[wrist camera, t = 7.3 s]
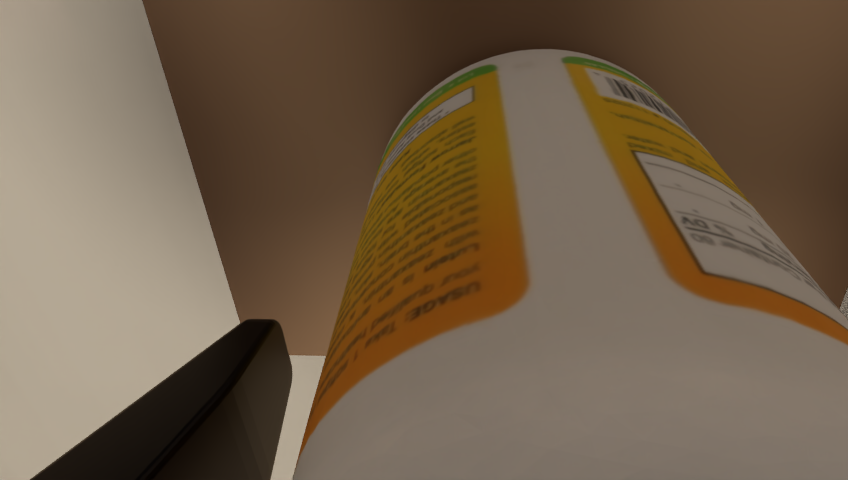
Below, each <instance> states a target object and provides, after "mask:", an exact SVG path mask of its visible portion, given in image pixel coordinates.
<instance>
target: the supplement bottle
mask: <svg viewBox="0 0 848 480" xmlns="http://www.w3.org/2000/svg"><path fill="white" fill-rule="evenodd" d="M293 480H848V319H847V318H846V317H845V316H844V315H843V313H842V312H841V311H840V310H839V309H838V308H837V306H836V305H835V304H834V303H833V302H832V301H831V300H830V299H829V297H828V296H827V295H826V294H825V293H824V291H823V290H822V289H821V288H820V287H819V285H818V284H817V283H816V282H815V281H814V279H813V278H812V277H811V276H810V274H809V273H808V272H807V271H806V270H805V268H804V267H803V266H802V265H801V264H800V262H799V261H798V260H797V259H796V258H795V257H794V255H793V254H792V253H791V252H790V251H789V249H788V248H787V247H786V246H785V245H784V244H783V242H782V241H781V240H780V239H779V237H778V236H777V235H776V234H775V233H774V231H773V230H772V229H771V228H770V227H769V226H768V224H767V223H766V222H765V221H764V220H763V218H762V217H761V216H760V214H759V213H758V212H757V211H756V209H755V208H754V207H753V206H752V204H751V203H750V202H749V201H748V199H747V198H746V197H745V196H744V195H743V194H742V192H741V191H740V190H739V189H738V187H737V186H736V185H735V184H734V183H733V181H732V180H731V179H730V178H729V177H728V175H727V174H726V173H725V172H724V170H723V169H722V168H721V167H720V166H719V164H718V163H717V162H716V161H715V160H714V158H713V157H712V156H711V155H710V153H709V152H708V151H707V149H706V148H705V147H704V146H703V145H702V143H701V142H700V141H699V140H698V139H697V138H696V136H695V135H694V134H693V133H692V132H691V130H690V129H689V128H688V127H687V125H686V124H685V123H684V122H683V120H682V119H681V118H680V117H679V116H678V114H677V113H676V112H675V111H674V110H673V109H672V108H671V107H670V106H669V105H668V104H667V103H666V102H665V100H664V99H663V98H661V97H660V96H659V95H658V94H657V93H656V92H655V91H654V90H653V89H652V88H651V87H649V86H648V85H647V84H646V83H645V82H643V81H642V80H641V79H639V78H638V77H637V76H635V75H633V74H632V73H630V72H628V71H627V70H625V69H623V68H621V67H619V66H617V65H615V64H613V63H610V62H608V61H606V60H603V59H600V58H597V57H594V56H591V55H587V54H583V53H579V52H573V51H567V50H557V49H533V50H521V51H515V52H510V53H505V54H501V55H497V56H493V57H490V58H488V59H485V60H482V61H479V62H477V63H474V64H472V65H470V66H468V67H466V68H464V69H462V70H460V71H458V72H456V73H455V74H453V75H451V76H450V77H448V78H446V79H445V80H444V81H442V82H441V83H439V84H438V85H437V86H435V87H434V88H433V89H431V90H430V91H429V92H428V93H426V94H425V95H424V96H423V97H422V98H421V99H420V100H419V101H418V102H417V103H416V104H415V105H414V106H413V107H412V108H411V109H410V110H409V111H408V113H407V114H406V115H405V116H404V118H403V119H402V120H401V122H400V124H399V125H398V127H397V128H396V130H395V131H394V133H393V135H392V137H391V139H390V141H389V142H388V145H387V147H386V150H385V152H384V154H383V157H382V160H381V162H380V165H379V167H378V171H377V174H376V178H375V181H374V184H373V188H372V193H371V196H370V199H369V202H368V207H367V211H366V215H365V219H364V222H363V225H362V229H361V233H360V237H359V240H358V243H357V247H356V250H355V254H354V258H353V262H352V266H351V270H350V273H349V277H348V280H347V284H346V287H345V291H344V295H343V298H342V302H341V305H340V309H339V312H338V316H337V319H336V323H335V327H334V330H333V334H332V337H331V341H330V344H329V348H328V351H327V355H326V359H325V362H324V366H323V369H322V373H321V376H320V380H319V383H318V387H317V390H316V394H315V397H314V401H313V404H312V408H311V411H310V415H309V419H308V422H307V426H306V430H305V434H304V437H303V441H302V445H301V449H300V453H299V456H298V460H297V464H296V468H295V472H294V475H293Z"/></svg>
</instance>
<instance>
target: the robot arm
mask: <svg viewBox="0 0 848 480" xmlns="http://www.w3.org/2000/svg"><path fill="white" fill-rule="evenodd" d="M291 383H292V365H291V361H290V357H289V353H288V349H287V345H286V342H285V338H284V334H283V330H282V327H281V325H280V323H279V322H278V321H276V320H274V319H247V320H245V321H243V322H242V323H240V324H239V325H237V326H236V327H235V328H233V329H232V330H231V331H229V332H228V333H227V334H225V335H224V336H223V337H221V338H220V339H219V340H217V341H216V342H215V343H213V344H212V345H211V346H209V347H208V348H206V349H205V350H204V351H202V352H201V353H200V354H198V355H197V356H196V357H194V358H193V359H192V360H190V361H189V362H188V363H186V364H185V365H184V366H182V367H181V368H180V369H178V370H177V371H175V372H174V373H173V374H171V375H170V376H169V377H167V378H166V379H165V380H163V381H162V382H161V383H159V384H158V385H157V386H155V387H154V388H153V389H151V390H150V391H149V392H147V393H146V394H145V395H143V396H142V397H140V398H139V399H138V400H136V401H135V402H134V403H132V404H131V405H130V406H128V407H127V408H126V409H124V410H123V411H122V412H120V413H119V414H118V415H116V416H115V417H114V418H112V419H111V420H109V421H108V422H107V423H105V424H104V425H103V426H101V427H100V428H99V429H97V430H96V431H95V432H93V433H92V434H91V435H89V436H88V437H87V438H85V439H84V440H83V441H81V442H80V443H78V444H77V445H76V446H74V447H73V448H72V449H70V450H69V451H68V452H66V453H65V454H64V455H62V456H61V457H60V458H58V459H57V460H56V461H54V462H53V463H52V464H50V465H49V466H48V467H46V468H45V469H43V470H42V471H41V472H39V473H38V474H37V475H35V476H34V477H33V478H31V479H30V480H270V479H271V475H272V470H273V465H274V461H275V456H276V452H277V447H278V443H279V438H280V434H281V429H282V425H283V420H284V415H285V411H286V406H287V402H288V397H289V393H290V388H291Z"/></svg>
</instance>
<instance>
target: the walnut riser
mask: <svg viewBox="0 0 848 480" xmlns="http://www.w3.org/2000/svg"><path fill="white" fill-rule="evenodd" d="M142 1H143V4H144V7H145V11H146V14H147V17H148V20H149V24H150V27H151V30H152V34H153V37H154V40H155V44H156V47H157V50H158V53H159V57H160V60H161V63H162V67H163V70H164V73H165V76H166V80H167V83H168V86H169V90H170V93H171V96H172V99H173V103H174V106H175V109H176V113H177V116H178V119H179V123H180V126H181V129H182V132H183V136H184V139H185V142H186V146H187V149H188V152H189V155H190V159H191V162H192V165H193V169H194V172H195V175H196V179H197V182H198V185H199V188H200V192H201V195H202V198H203V202H204V205H205V208H206V211H207V215H208V218H209V221H210V225H211V228H212V231H213V234H214V238H215V241H216V244H217V248H218V251H219V254H220V258H221V261H222V264H223V267H224V271H225V274H226V277H227V281H228V284H229V287H230V290H231V294H232V297H233V300H234V304H235V307H236V310H237V314H238V317H239V320H240V323H242V322H243V321H245V320H247V319H274V320H276V321H278V322H279V323H280V325H281V327H282V330H283V334H284V338H285V342H286V345H287V349H288V353H289V355H314V356H326V355H327V351H328V348H329V344H330V341H331V337H332V334H333V330H334V327H335V323H336V319H337V316H338V312H339V309H340V305H341V302H342V298H343V295H344V291H345V287H346V284H347V280H348V277H349V273H350V270H351V266H352V262H353V258H354V254H355V250H356V247H357V243H358V240H359V237H360V233H361V229H362V225H363V222H364V219H365V215H366V211H367V207H368V202H369V199H370V196H371V193H372V188H373V184H374V181H375V178H376V174H377V171H378V167H379V165H380V162H381V160H382V157H383V154H384V152H385V150H386V147H387V145H388V142H389V141H390V139H391V137H392V135H393V133H394V131H395V130H396V128H397V127H398V125H399V124H400V122H401V120H402V119H403V118H404V116H405V115H406V114H407V113H408V111H409V110H410V109H411V108H412V107H413V106H414V105H415V104H416V103H417V102H418V101H419V100H420V99H421V98H422V97H423V96H424V95H425V94H426V93H428V92H429V91H430V90H431V89H433V88H434V87H435V86H437V85H438V84H439V83H441V82H442V81H444V80H445V79H446V78H448V77H450V76H451V75H453V74H455V73H456V72H458V71H460V70H462V69H464V68H466V67H468V66H470V65H472V64H474V63H477V62H479V61H482V60H485V59H488V58H490V57H493V56H497V55H501V54H505V53H510V52H515V51H521V50H533V49H557V50H567V51H573V52H579V53H583V54H587V55H591V56H594V57H597V58H600V59H603V60H606V61H608V62H610V63H613V64H615V65H617V66H619V67H621V68H623V69H625V70H627V71H628V72H630V73H632V74H633V75H635V76H637V77H638V78H639V79H641V80H642V81H643V82H645V83H646V84H647V85H648V86H649V87H651V88H652V89H653V90H654V91H655V92H656V93H657V94H658V95H659V96H660V97H661V98H663V99H664V100H665V102H666V103H667V104H668V105H669V106H670V107H671V108H672V109H673V110H674V111H675V112H676V113H677V114H678V116H679V117H680V118H681V119H682V120H683V122H684V123H685V124H686V125H687V127H688V128H689V129H690V130H691V132H692V133H693V134H694V135H695V136H696V138H697V139H698V140H699V141H700V142H701V143H702V145H703V146H704V147H705V148H706V149H707V151H708V152H709V153H710V155H711V156H712V157H713V158H714V160H715V161H716V162H717V163H718V164H719V166H720V167H721V168H722V169H723V170H724V172H725V173H726V174H727V175H728V177H729V178H730V179H731V180H732V181H733V183H734V184H735V185H736V186H737V187H738V189H739V190H740V191H741V192H742V194H743V195H744V196H745V197H746V198H747V199H748V201H749V202H750V203H751V204H752V206H753V207H754V208H755V209H756V211H757V212H758V213H759V214H760V216H761V217H762V218H763V220H764V221H765V222H766V223H767V224H768V226H769V227H770V228H771V229H772V230H773V231H774V233H775V234H776V235H777V236H778V237H779V239H780V240H781V241H782V242H783V244H784V245H785V246H786V247H787V248H788V249H789V251H790V252H791V253H792V254H793V255H794V257H795V258H796V259H797V260H798V261H799V262H800V264H801V265H802V266H803V267H804V268H805V270H806V271H807V272H808V273H809V274H810V276H811V277H812V278H813V279H814V281H815V282H816V283H817V284H818V285H819V287H820V288H821V289H822V290H823V291H824V293H825V294H826V295H827V296H828V297H829V299H830V300H831V301H832V302H833V303H834V304H835V305H836V306H837V308H838V309H840V306H841V304H842V301H843V298H844V296H845V293H846V290H847V288H848V0H142Z"/></svg>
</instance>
